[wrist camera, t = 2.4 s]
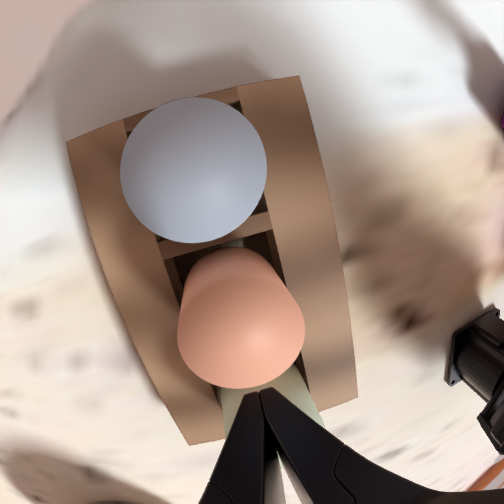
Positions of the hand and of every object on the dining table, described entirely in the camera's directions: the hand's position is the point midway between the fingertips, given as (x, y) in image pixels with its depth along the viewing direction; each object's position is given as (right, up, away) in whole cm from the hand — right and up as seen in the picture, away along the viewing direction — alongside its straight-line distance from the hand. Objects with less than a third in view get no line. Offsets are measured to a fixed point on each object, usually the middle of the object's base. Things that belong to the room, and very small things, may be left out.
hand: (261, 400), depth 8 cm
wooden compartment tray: (-2, +3, +11) cm, 11 cm away
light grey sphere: (-3, +8, +6) cm, 11 cm away
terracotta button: (-1, +2, +8) cm, 9 cm away
